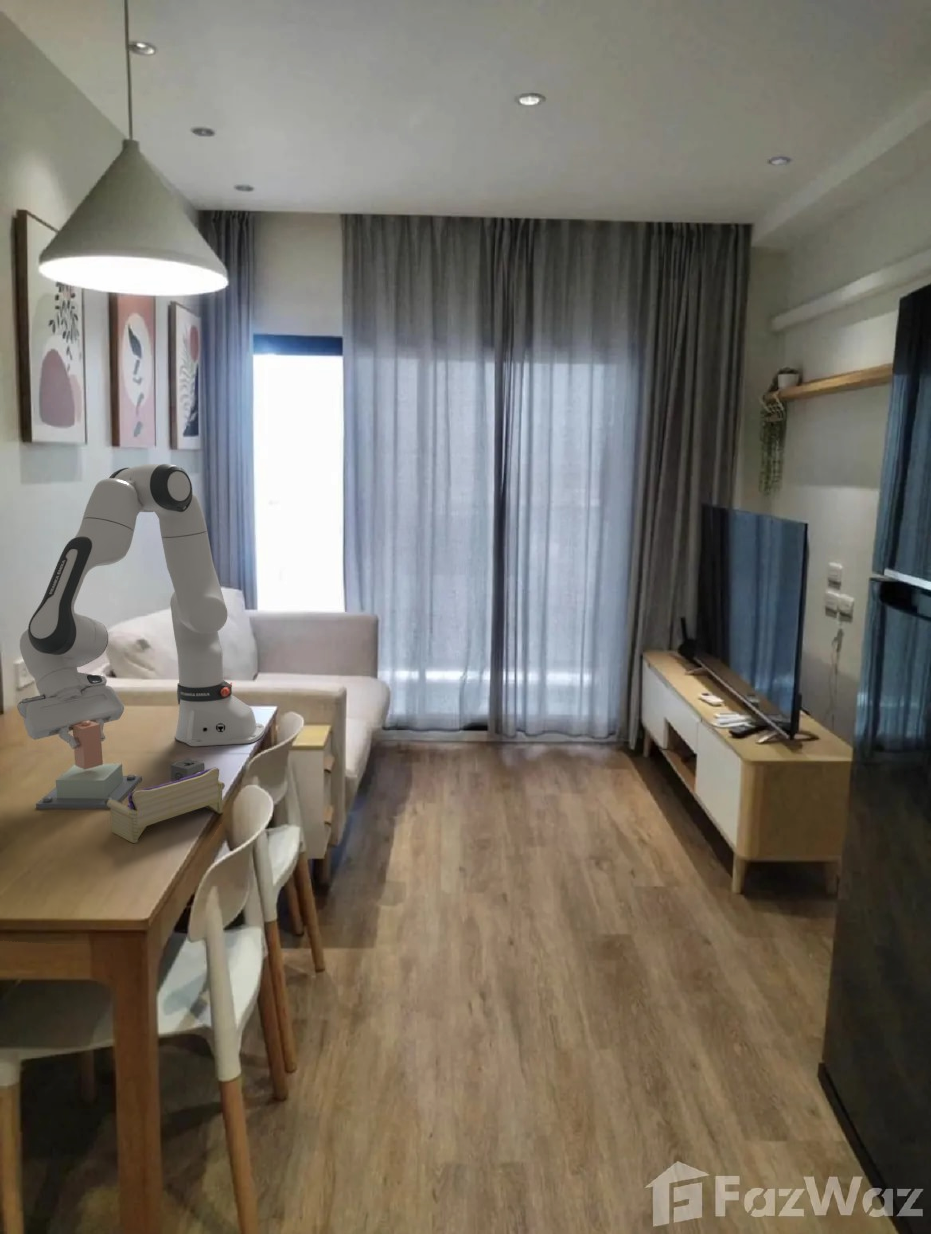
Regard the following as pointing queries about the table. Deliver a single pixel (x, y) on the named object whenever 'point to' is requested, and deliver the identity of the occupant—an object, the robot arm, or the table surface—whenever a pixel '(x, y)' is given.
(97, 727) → the pillar brick
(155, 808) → the toy sofa
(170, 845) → the table surface
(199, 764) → the dice cube
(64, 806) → the tower base
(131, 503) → the robot arm
